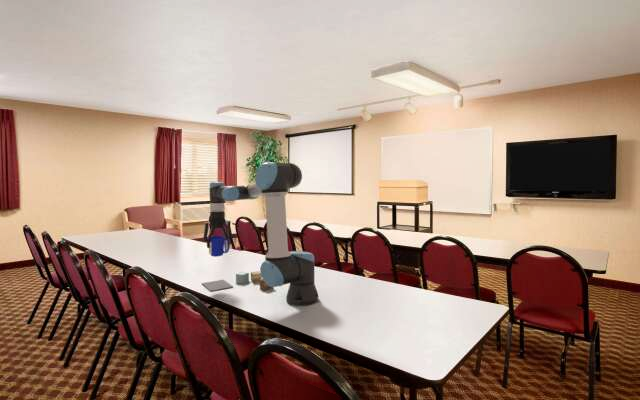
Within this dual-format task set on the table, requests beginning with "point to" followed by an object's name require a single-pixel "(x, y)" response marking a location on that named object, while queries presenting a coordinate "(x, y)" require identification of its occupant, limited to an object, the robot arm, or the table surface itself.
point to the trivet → (217, 285)
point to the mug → (218, 245)
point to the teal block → (242, 277)
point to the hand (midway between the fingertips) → (218, 252)
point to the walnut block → (264, 285)
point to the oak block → (256, 276)
